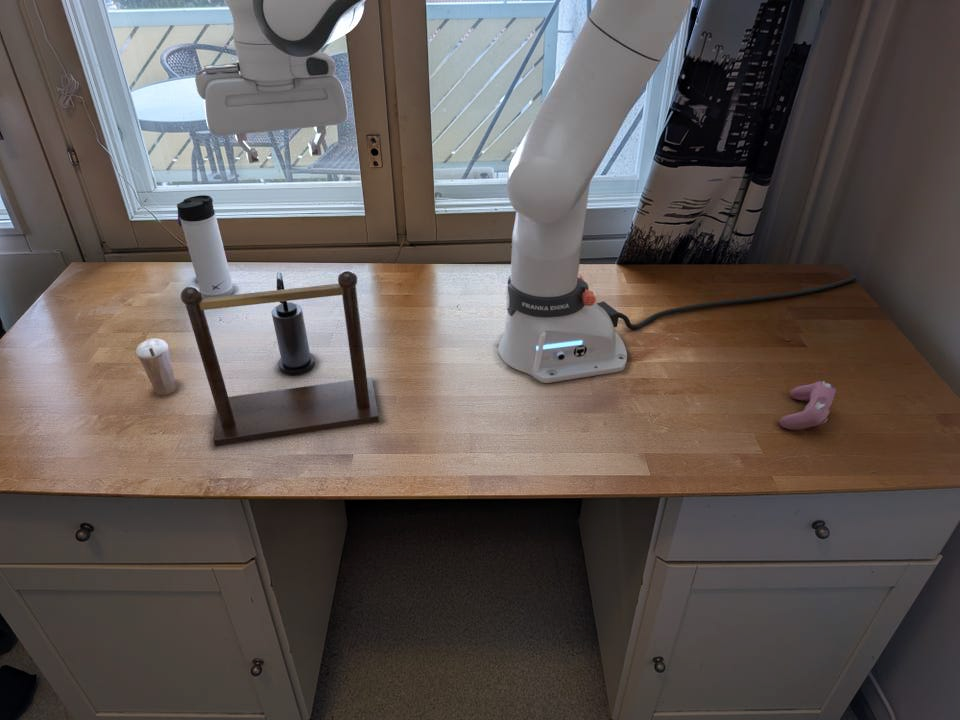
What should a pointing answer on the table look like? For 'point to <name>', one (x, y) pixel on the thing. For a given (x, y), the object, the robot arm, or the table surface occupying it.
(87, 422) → the table surface
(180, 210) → the travel mug
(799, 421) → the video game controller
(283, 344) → the dark cylindrical piece
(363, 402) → the rack
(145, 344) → the milkshake
